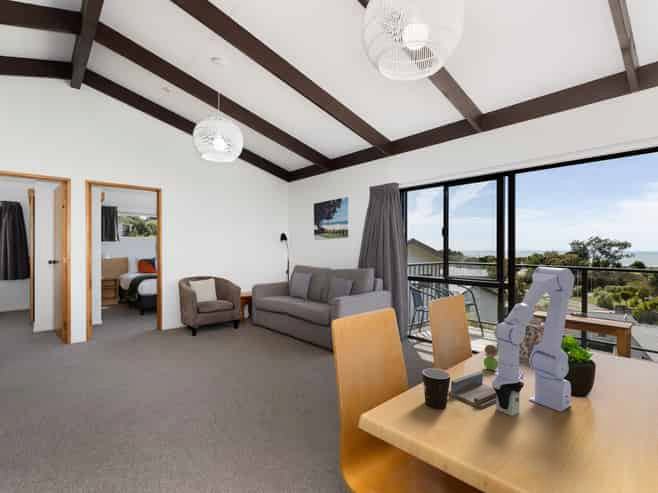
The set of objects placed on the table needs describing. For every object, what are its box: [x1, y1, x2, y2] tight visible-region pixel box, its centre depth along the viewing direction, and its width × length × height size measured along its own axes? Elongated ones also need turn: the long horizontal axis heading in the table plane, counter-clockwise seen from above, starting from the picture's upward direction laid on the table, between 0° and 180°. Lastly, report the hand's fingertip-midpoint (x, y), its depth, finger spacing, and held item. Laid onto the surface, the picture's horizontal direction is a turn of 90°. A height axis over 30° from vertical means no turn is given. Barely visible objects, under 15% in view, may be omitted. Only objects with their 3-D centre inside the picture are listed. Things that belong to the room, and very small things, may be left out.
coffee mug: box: [421, 367, 452, 410], centre depth 107 cm, size 12×9×10 cm
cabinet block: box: [495, 391, 521, 417], centre depth 105 cm, size 6×4×6 cm
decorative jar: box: [519, 317, 551, 361], centre depth 156 cm, size 12×12×18 cm
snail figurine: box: [483, 343, 499, 371], centre depth 140 cm, size 5×6×12 cm
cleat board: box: [448, 371, 496, 410], centre depth 116 cm, size 12×16×5 cm
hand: (507, 406), depth 105 cm, fingers closed on cabinet block, 4 cm apart
